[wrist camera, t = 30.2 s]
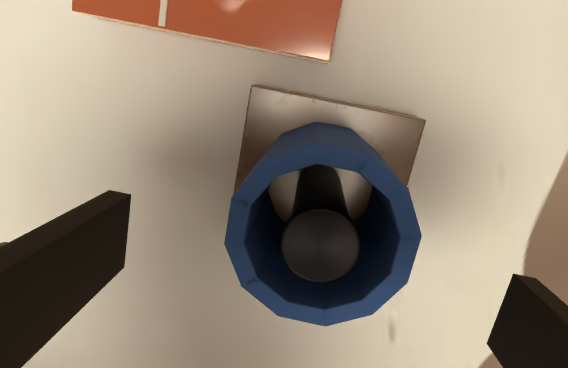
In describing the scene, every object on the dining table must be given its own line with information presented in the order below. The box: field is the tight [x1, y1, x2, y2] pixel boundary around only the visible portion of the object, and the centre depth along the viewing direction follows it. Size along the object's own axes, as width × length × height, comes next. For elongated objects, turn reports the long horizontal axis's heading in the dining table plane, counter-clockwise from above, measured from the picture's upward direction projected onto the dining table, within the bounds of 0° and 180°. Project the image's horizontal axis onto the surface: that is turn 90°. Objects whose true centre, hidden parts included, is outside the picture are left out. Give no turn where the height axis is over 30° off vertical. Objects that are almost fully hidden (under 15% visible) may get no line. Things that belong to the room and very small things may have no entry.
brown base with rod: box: [233, 85, 426, 282], centre depth 20 cm, size 10×10×11 cm
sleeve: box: [224, 122, 421, 326], centre depth 19 cm, size 8×8×8 cm
